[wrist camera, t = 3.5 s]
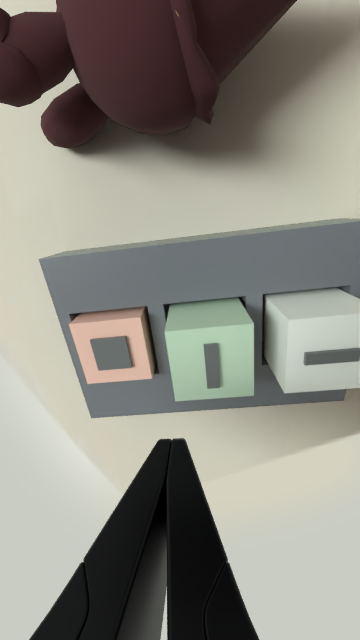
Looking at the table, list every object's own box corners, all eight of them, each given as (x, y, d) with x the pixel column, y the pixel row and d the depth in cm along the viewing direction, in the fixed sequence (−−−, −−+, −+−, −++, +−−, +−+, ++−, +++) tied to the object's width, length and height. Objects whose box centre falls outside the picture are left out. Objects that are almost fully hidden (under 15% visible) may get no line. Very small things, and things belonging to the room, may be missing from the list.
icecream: (499, -772, 4) (-135, -91, 7) (563, -183, 5) (-31, 166, 8) (325, -98, 10) (40, 83, 14) (365, 88, 11) (87, 214, 15)
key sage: (237, 297, 14) (254, 325, 11) (239, 356, 16) (254, 398, 12) (169, 304, 15) (164, 333, 11) (177, 361, 16) (175, 404, 13)
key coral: (150, 295, 17) (139, 318, 13) (158, 347, 18) (151, 380, 15) (93, 302, 17) (67, 325, 13) (106, 352, 19) (86, 386, 15)
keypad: (340, 218, 15) (375, 219, 12) (321, 373, 19) (343, 400, 16) (64, 251, 16) (38, 259, 13) (104, 390, 20) (91, 418, 17)
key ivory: (335, 287, 14) (387, 312, 10) (327, 348, 16) (370, 389, 12) (263, 294, 14) (290, 322, 11) (263, 354, 16) (286, 396, 12)
